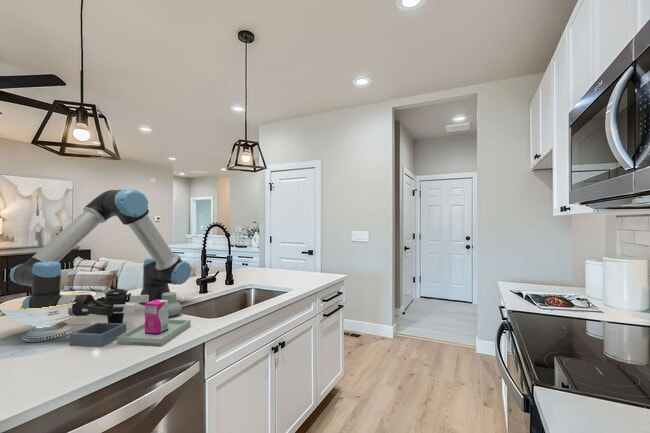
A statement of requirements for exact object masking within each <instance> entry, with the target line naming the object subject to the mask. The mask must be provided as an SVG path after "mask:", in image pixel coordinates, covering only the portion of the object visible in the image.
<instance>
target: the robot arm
mask: <svg viewBox="0 0 650 433" xmlns="http://www.w3.org/2000/svg"><path fill="white" fill-rule="evenodd" d="M82 210H83V212H81V214H79V215H78V216H77V217H76V218H75V219H73V221H71V222H70V223H69V224H68V225H67V226H65V227H64V228H63V229H61V231H60V232H59V233H58V234H56V236H54V237H53V238H52V239H51V240H50V241H49V242H47V243H46V244H45V245H44V246H42V248H41V249H40V250H39V251H37V252H36V253H35V254H34V255H33V256H31V258H29V259H28V260H27V261H26V262H25V263H21V264H18V265H16V266H14V267H12V269H11V270H10V273H9V278H10V280H11V281H12V282H13V283H15V284H18V285H21V286H27V287H30V288H31V295H29V296H27V297H26V298H25V299H23V301H22V305H21V306H20V309H21V308H42V307H49V306H56V305H63V304H69V303H74V302H76V303H75V304H73V305H72V308H68V314H69V315H70V316H69V317H74V316H75V317H85V316H89V315H95V316H103V317H104V316H106V317H107V315H108V316H112V312H113V313H124V314H129V313H135V312H136V311H135V310H136V309H135V308H136V306H135V304H134V303H136V304H137V303H138V304H140V305H144V306H145V303H148V302H151V301H154V300H162V294H163V293H166V292H171V290H170V287H169V284H171V285H183V284H185V283H186V282H187V281H188V280H189V279H190V276H191V272H192V266H191V264H190V263H189V262H187V261H185V260H184V261H183V259H181V256H179V254H178V253H173V251H172V250H171V248H170V247H169V245H168V244H167V242H166V241H165V239H164V238H163V236H162V234H161V233H160V231H159V230H158V229H157V227H156V226H155V224H154V223H153V221H152V220H151V218H150V216H149V213H150V211H149V201H148V198H147V196H145V194H144V193H142V192H141V191H140V190H136V189H130V188H125V189H111V190H106V191H104V192H102V193H100V194H99V195H97V196H96V197H95V198H93V199H92V200H91V201H90V202H89V203H88V204H87V205H85V206H84V207H83V208H82ZM112 217H117V218H118V219H119V221H120V222H121V223H122V225H124V226H129V228H130V229H131V230H132V232H133V233H134V235H135V236H136V237H137V239H138V240H139V241H140V243H141V244H142V246H143V247H144V248H145V250H146V251H147V252H148V254H149V255H150V256H151V258H150V257H149V258H145V260H143V266H142V267H143V271H142V272H143V273H142V274H143V276H142V278H143V279H142V282H143V283H142V289H141V292H140V295H139V294H137V295H134V294H133V295H132V293H131V292H130V293H127V294H126V295H118V296H110V297H106V296H101V297H97V299H95V298H94V296H93V295H92V294H91V293H90V294H84V293H83V294H61V279H62V278H61V277H62V268H61V267H62V266H61V263H60V261H61V260H62V259H64V257H66V256H67V255H68V254H69V253H70V252H71V251H72V250H73V249H74V248H75V247H76V246H78V244H79V243H80V242H82V241H83V240H84V239H85V237H87V236H88V235H89V234H90V233H91V232H92V231H93V230H94V229H96V228H97V227H98V226H99V225H100V224H103V223H105V222H106V221H108V219H110V218H112ZM121 303H125V305H115V304H121ZM127 303H129V304H127ZM130 303H131V304H130ZM111 305H113V307H112V306H111ZM73 314H74V315H73Z"/></svg>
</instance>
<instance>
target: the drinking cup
mask: <svg viewBox="0 0 650 433" xmlns="http://www.w3.org/2000/svg"><path fill="white" fill-rule="evenodd" d="M118 278H119V277H118V275H117V276H115V288H113V289H110V290H107V291H106V292H104V295H105V297H110V296H118V295H127V294H128V290H127V289H123V288H118V281H119V279H118ZM115 305H126V303H121V304H115ZM111 306H112V307H113V305H111ZM124 315H125V313H113V312H112V316H108V315H106V317H107V323H120V324H124V323H123V322H124Z"/></svg>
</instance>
